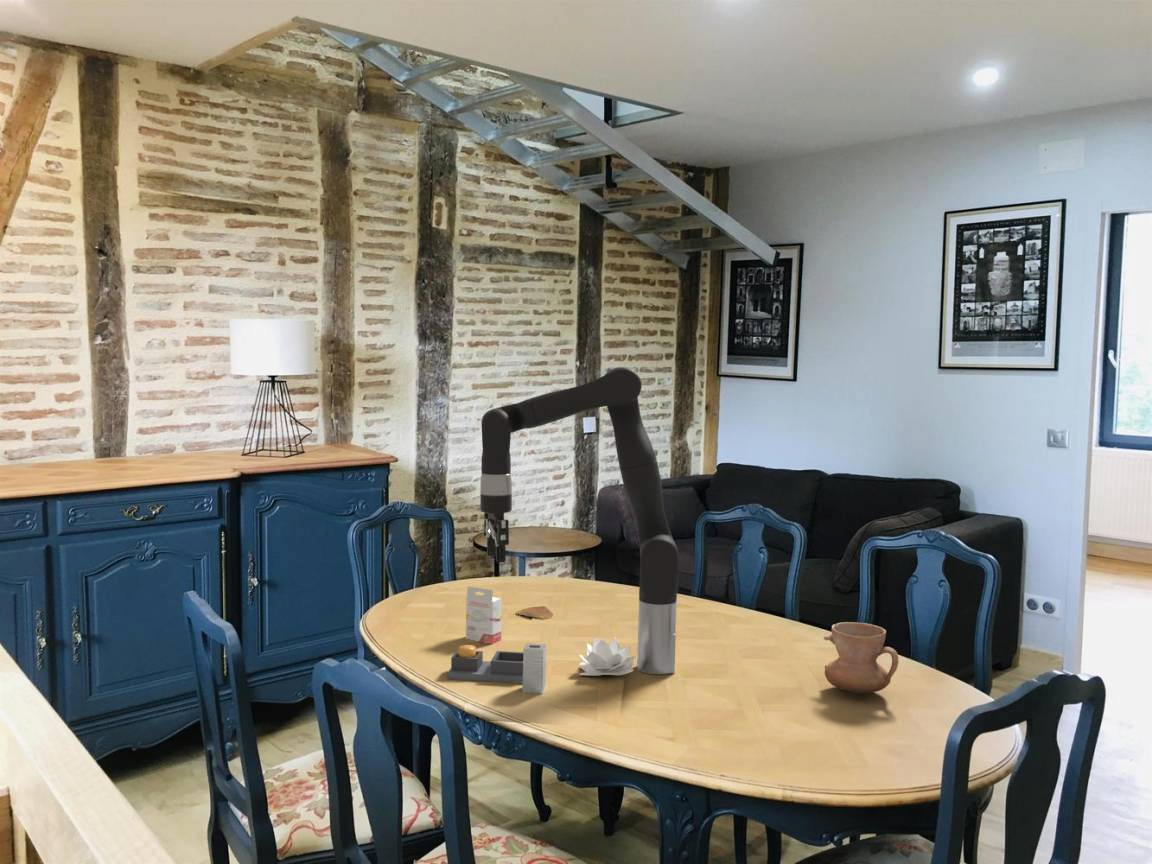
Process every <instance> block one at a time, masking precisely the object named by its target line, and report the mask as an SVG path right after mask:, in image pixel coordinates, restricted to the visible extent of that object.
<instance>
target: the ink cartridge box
mask: <svg viewBox="0 0 1152 864" xmlns="http://www.w3.org/2000/svg"><path fill="white" fill-rule="evenodd" d="M479 592H480V593H482V594H476V593H479ZM502 601H503V599H502V597H495V596H493V589H487V588H482V587H474V586H467V591H466V599H465V603H466V607H465V608H466V609H465V611H466V612H465V613H466V614H465V640H468V639H470V640H469V641H473V640H474V641H473V642H477V641H480V642H479V643H482V642H485V643H484V644H487V643H489V644H488V645H494V644H496V643H498V642H501V641H502V621H503V620H502V612H503V611H502V608H503V606H502V604H503V603H502ZM497 641H498V642H497ZM493 643H494V644H493Z"/></svg>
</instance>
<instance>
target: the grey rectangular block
mask: <svg viewBox="0 0 1152 864" xmlns="http://www.w3.org/2000/svg"><path fill="white" fill-rule="evenodd" d="M522 652H523V683H522V693H523V694H541V695H542V694H544V692H545V689H546V678H547V677H546V672H547V671H546V670H547V669H546V668H547V665H546V664H547V644H545V643H529V642H528V643H526V644H525V646H524V648H523V651H522Z"/></svg>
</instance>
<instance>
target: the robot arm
mask: <svg viewBox="0 0 1152 864" xmlns="http://www.w3.org/2000/svg"><path fill="white" fill-rule="evenodd" d="M642 386H643V385H642V379H641V377H640V375H639V374H637V372H635V370H633V369H631V368H629V367H624V366H623V367H622V366H618V367H613V368H612V369H609V370H608V371H607V372H605V373H604V374H603V375H602V376H601V377H598V378H596V379H594V380H591V381H589V382H586V383H583V384H580V385H577V386H573V387H569V388H565V389H560V390H557V391H556V390H555V391H551V392H547V393H544V394H540V395H537V396H534V397H531V398H530V397H529V398H528V399H524V400H522V401H520V402H517V403H514V404H513V403H512V404H507V405H504V406H500V407H499V406H498V407H496V408H492V409H490V410H488V411H485V413H484V415H483V416H482V419H481V423H480V424H481V443H482V444H481V445H482V452H481V472H480V473H481V474H480V475H481V476H480V488H479V489H480V496H479V497H480V501H479V502H480V512H482V513H484V514H483V516H484V517H483V527H484V528H483V536H484V537H485V540H486V555H487V556H488V557H494V556H495V561H496V563H505V562H506V559H507V557H506V555H507V554H506V551H507V550H506V549H507V546H509V544H510V540H509V539H510V537H509V536H510V535H509V533H510V532H509V527H510V525H509V522H510V521H509V519H505V514H508V513H510V512H511V511H512V509H513V508H512V506H513V504H512V503H513V502H512V501H513V500H512V499H513V498H512V497H513V495H512V494H513V491H512V490H513V489H512V488H513V487H512V486H513V483H512V474H511V470H512V469H511V468H512V464H511V463H512V462H511V460H512V459H511V458H512V457H511V440H512V439H511V435H512V433H516V432H518V431H519V432H520V431H521V430H525V429H534V428H537V427H541V426H544V425H547V424H550V423H554V422H557V421H560V420H563V419H566V418H568V417H571V416H574V415H576V414H580V413H584V412H586V411H589V410H593V409H598V408H603V407H604V408H605V407H606V408H607V411H608V414H609V417H610V421H611V424H612V429H613V433H614V435H613V436H614V440H615V448H616V455H617V461H618V465H619V466H618V467H619V471H620V474H621V479H622V482H623V483H622V484H623V486H624V489H625V493H626V496H627V498H628V501H629V502H628V503H630V506H631V509H632V511H633V513H634V518H635V521H636V526H637V532H638V533H637V534H638V540H639V541H638V543H639V555H640V556H639V557H640V558H639V559H640V561H639V563H640V565H639V586H638V587H639V589H638V621H637V622H638V624H637V653H636V654H637V656H636V657H637V658H636V663H637V664H636V667H637V670H638V671H640V672H642V673H645V674H649V675H668V674H675V671H676V670H675V669H676V668H675V665H676V639H677V638H676V635H677V632H676V631H677V598H678V591H679V589H678V588H679V568H680V565H679V564H680V560H679V559H680V556H679V555H680V554H679V550H678V548H677V544H676V542H675V540H674V538H673V535H672V532H671V529H670V527H669V523H668V520H667V517H666V513H665V507H664V496H663V486H662V479H661V472H660V469H659V464H658V460H657V459H658V458H657V456H656V452H655V451H654V448H653V445H652V442H651V440H650V437H649V435H648V433H647V431H646V428H645V425H644V423H643V419H642V416H641V410H640V405H639V396H640V393H641V391H642Z"/></svg>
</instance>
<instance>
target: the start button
mask: <svg viewBox="0 0 1152 864" xmlns="http://www.w3.org/2000/svg"><path fill="white" fill-rule="evenodd" d="M476 648H477V647H476V645H473V644H472V645H471V644H464V645H460V646H458V650H459V657H468V658H475V657H476V651H477V649H476Z"/></svg>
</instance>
